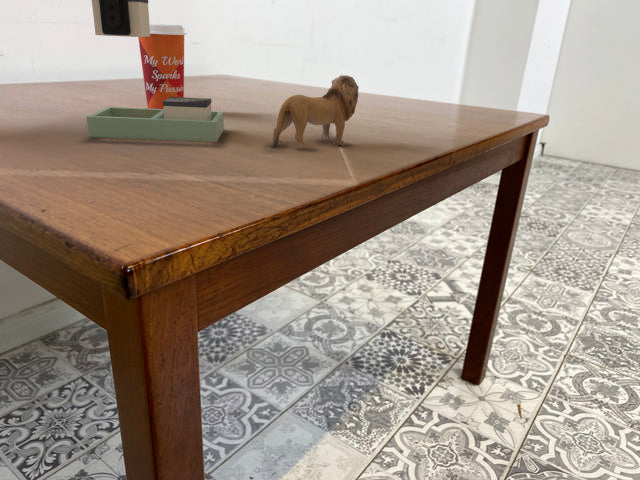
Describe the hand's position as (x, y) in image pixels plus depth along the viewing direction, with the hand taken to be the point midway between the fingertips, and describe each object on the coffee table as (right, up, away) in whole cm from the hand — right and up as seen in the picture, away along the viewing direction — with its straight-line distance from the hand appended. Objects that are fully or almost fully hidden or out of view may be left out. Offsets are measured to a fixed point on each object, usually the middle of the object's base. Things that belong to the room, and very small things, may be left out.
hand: (123, 32), depth 65 cm
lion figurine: (+24, -13, +6) cm, 28 cm away
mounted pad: (+7, -11, +6) cm, 14 cm away
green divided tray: (+3, -12, +6) cm, 14 cm away
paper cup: (-1, -5, +22) cm, 23 cm away
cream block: (0, 0, 0) cm, 0 cm away
